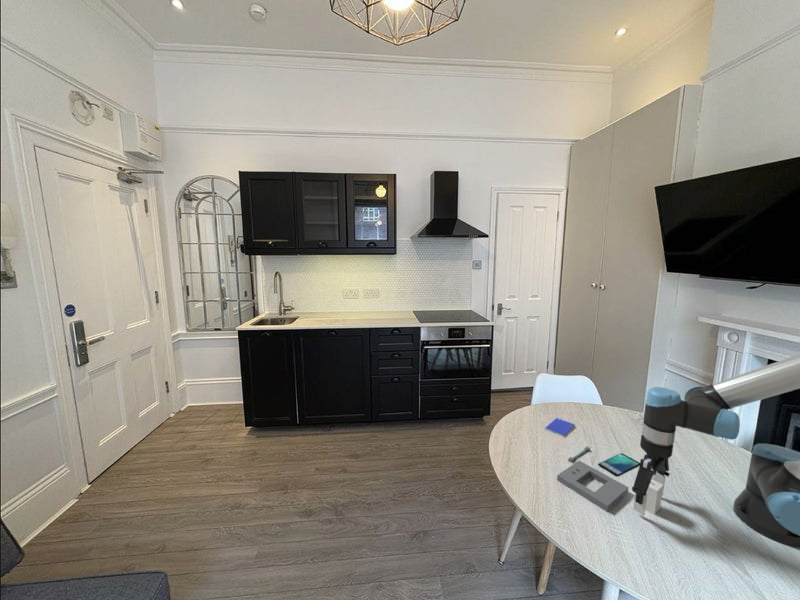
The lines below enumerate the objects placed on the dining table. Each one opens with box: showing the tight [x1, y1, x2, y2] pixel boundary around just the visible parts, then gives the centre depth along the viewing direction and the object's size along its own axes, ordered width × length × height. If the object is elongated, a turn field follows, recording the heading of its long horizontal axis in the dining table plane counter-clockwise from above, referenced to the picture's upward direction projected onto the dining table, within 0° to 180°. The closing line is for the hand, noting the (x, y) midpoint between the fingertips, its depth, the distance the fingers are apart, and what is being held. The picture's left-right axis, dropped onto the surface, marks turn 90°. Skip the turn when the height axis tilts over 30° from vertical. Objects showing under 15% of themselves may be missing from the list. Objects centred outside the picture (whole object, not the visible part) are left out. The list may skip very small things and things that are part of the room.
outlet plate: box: [556, 460, 629, 512], centre depth 107 cm, size 16×14×2 cm
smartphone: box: [597, 452, 640, 477], centre depth 117 cm, size 7×1×15 cm
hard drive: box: [544, 417, 576, 438], centre depth 142 cm, size 2×8×12 cm
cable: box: [567, 446, 591, 463], centre depth 123 cm, size 1×13×1 cm, turn 123°
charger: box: [645, 478, 664, 515], centre depth 98 cm, size 4×4×8 cm
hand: (648, 501), depth 98 cm, fingers open, 13 cm apart
